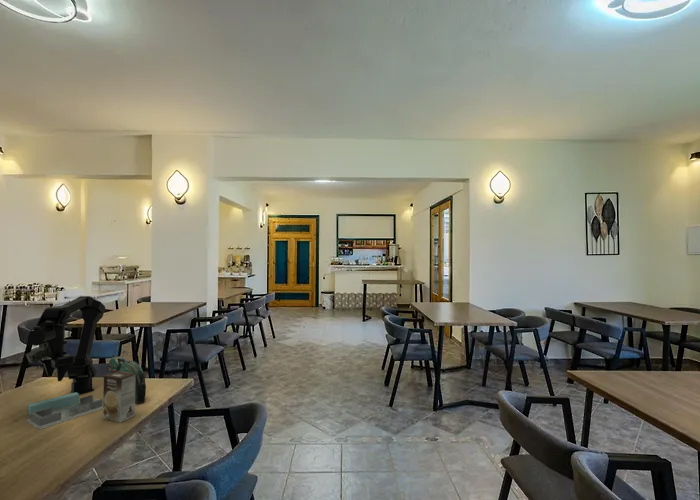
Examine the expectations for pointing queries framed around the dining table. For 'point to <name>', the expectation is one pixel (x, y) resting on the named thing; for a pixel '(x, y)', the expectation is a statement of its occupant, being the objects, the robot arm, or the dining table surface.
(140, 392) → the ceramic cat
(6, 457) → the dining table surface
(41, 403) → the rail
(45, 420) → the cup bracket
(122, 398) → the coffee box
